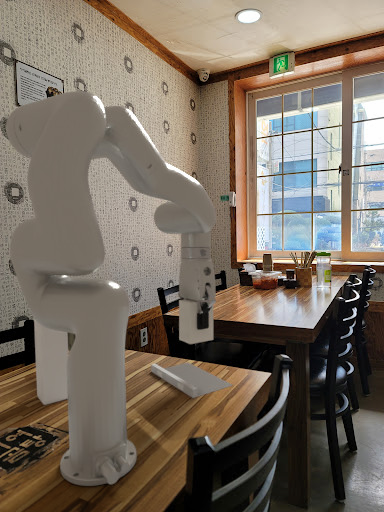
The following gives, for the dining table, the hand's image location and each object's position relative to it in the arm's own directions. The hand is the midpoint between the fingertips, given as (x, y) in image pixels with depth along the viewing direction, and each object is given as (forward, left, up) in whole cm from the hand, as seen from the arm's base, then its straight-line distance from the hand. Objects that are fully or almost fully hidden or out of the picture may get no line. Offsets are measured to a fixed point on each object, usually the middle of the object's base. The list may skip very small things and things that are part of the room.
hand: (195, 325), depth 93 cm
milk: (+15, +32, -16) cm, 38 cm away
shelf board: (+2, +1, -16) cm, 16 cm away
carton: (0, 0, -4) cm, 4 cm away
